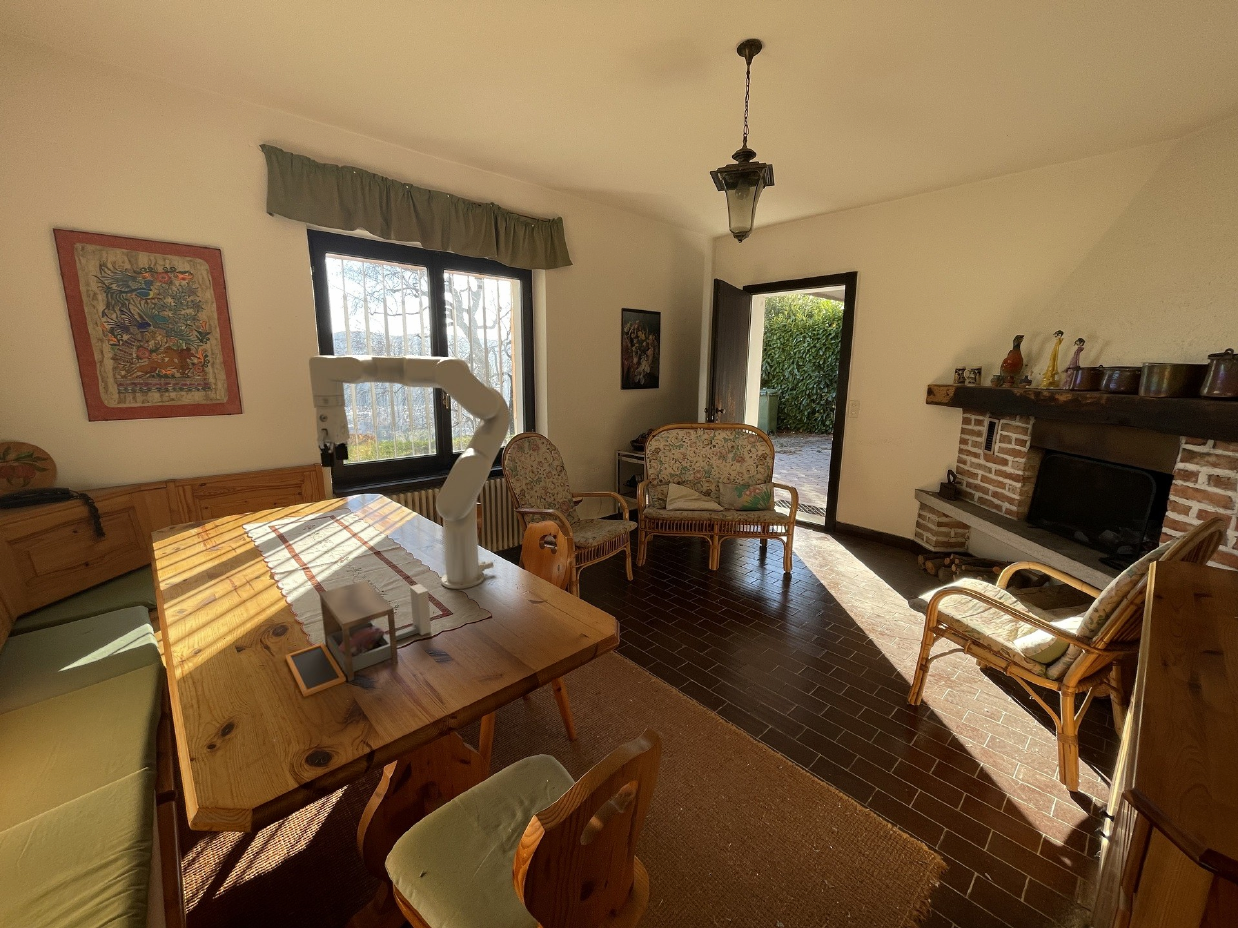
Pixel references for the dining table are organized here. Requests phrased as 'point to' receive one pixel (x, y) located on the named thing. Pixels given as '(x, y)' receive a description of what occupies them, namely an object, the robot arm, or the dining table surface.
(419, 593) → the grey drawer with handle
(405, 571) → the dining table surface
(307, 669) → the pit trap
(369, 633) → the video game controller
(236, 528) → the dining table surface
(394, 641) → the brown wooden stand
